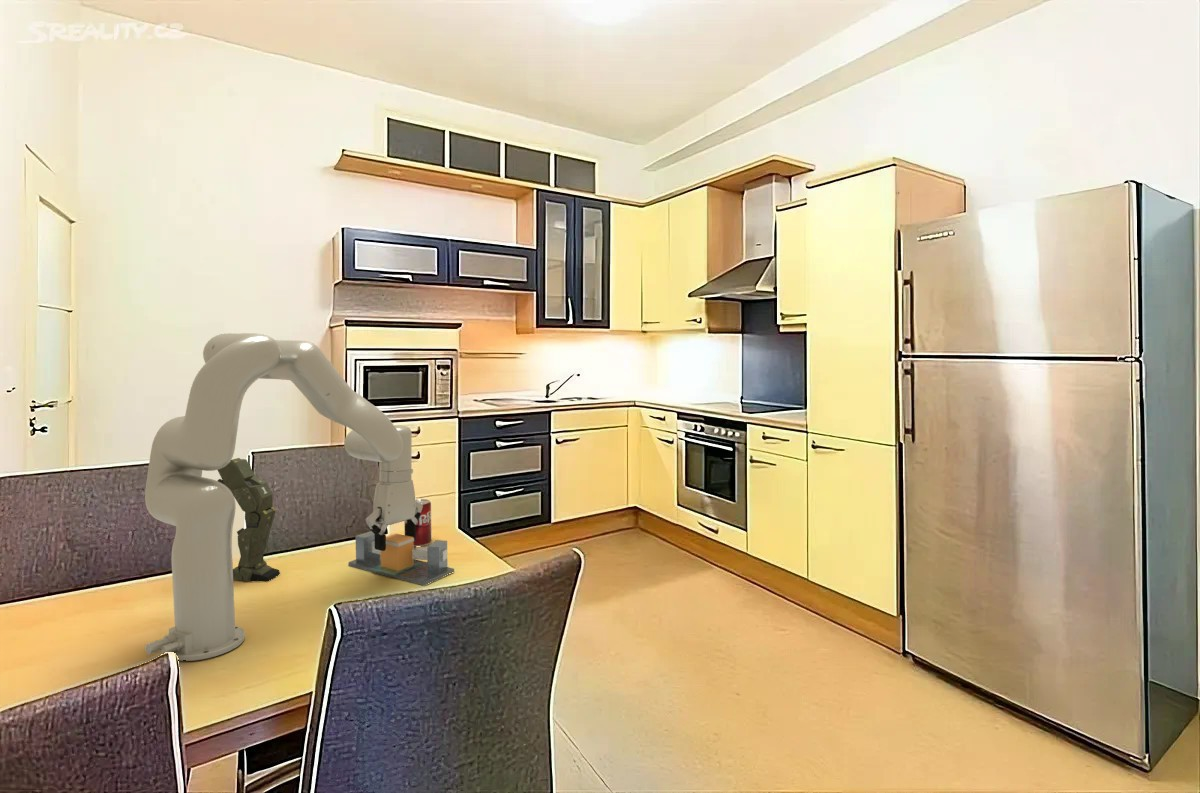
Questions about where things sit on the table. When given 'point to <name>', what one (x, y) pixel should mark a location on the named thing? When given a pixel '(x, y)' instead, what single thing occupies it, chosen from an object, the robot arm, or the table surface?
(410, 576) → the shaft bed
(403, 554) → the block
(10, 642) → the table surface
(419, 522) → the soda can
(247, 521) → the mechanical leg
